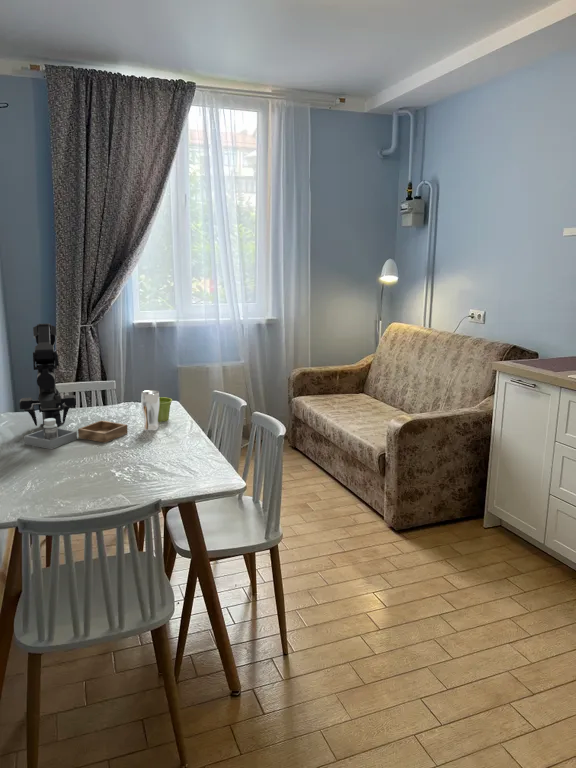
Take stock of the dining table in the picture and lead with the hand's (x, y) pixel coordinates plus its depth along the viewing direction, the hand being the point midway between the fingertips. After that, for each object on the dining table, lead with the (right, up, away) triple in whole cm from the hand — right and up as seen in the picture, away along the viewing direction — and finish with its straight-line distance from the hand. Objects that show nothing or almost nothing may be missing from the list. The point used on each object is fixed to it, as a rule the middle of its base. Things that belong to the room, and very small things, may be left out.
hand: (50, 424), depth 212 cm
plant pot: (+34, 0, +30) cm, 46 cm away
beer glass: (+33, -3, +18) cm, 38 cm away
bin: (0, -6, +1) cm, 6 cm away
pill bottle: (0, -6, +1) cm, 7 cm away
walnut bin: (+17, -5, +9) cm, 20 cm away
